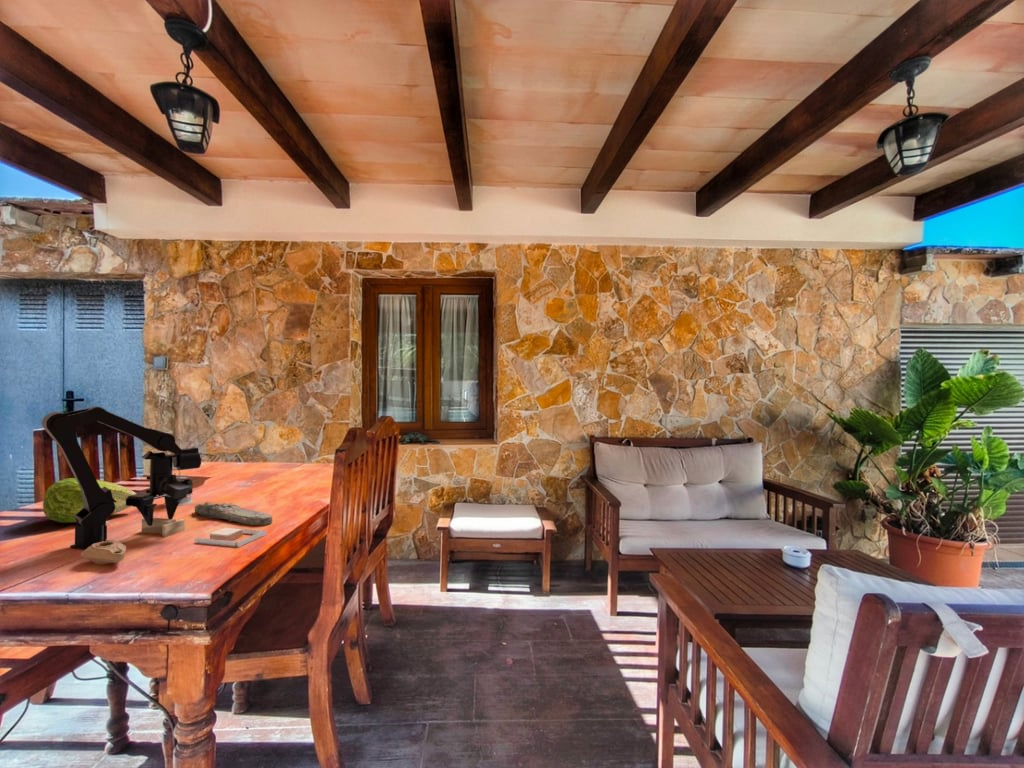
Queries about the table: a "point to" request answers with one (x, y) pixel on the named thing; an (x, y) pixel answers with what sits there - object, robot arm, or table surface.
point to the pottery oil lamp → (105, 552)
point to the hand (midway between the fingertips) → (160, 522)
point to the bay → (255, 535)
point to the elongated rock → (233, 513)
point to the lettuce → (77, 499)
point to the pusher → (164, 526)
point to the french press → (181, 478)
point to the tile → (226, 534)
